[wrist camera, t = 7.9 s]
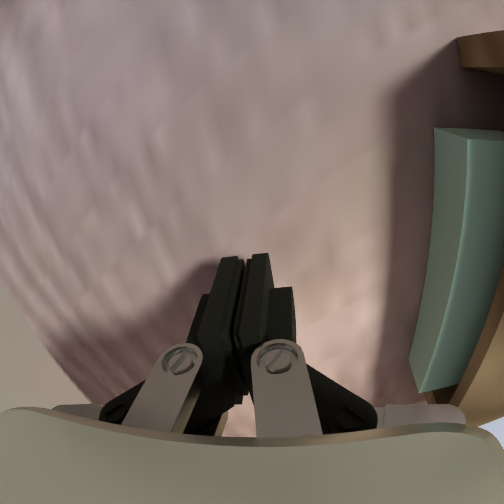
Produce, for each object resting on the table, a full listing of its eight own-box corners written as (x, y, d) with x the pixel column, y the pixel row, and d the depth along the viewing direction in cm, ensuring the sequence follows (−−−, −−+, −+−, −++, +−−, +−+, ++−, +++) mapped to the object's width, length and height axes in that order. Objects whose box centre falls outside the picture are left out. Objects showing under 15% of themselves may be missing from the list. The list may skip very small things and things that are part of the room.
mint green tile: (433, 127, 9) (467, 139, 7) (536, 135, 8) (571, 149, 6) (407, 359, 15) (418, 393, 13) (491, 339, 14) (507, 367, 12)
